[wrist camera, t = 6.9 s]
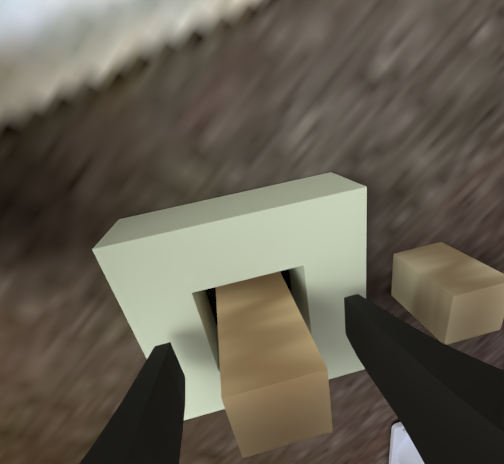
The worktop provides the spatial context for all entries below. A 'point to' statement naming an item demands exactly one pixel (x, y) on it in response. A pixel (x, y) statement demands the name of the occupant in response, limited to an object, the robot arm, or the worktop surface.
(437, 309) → the short pin
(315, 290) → the socket
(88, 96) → the worktop surface
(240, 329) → the long pin
